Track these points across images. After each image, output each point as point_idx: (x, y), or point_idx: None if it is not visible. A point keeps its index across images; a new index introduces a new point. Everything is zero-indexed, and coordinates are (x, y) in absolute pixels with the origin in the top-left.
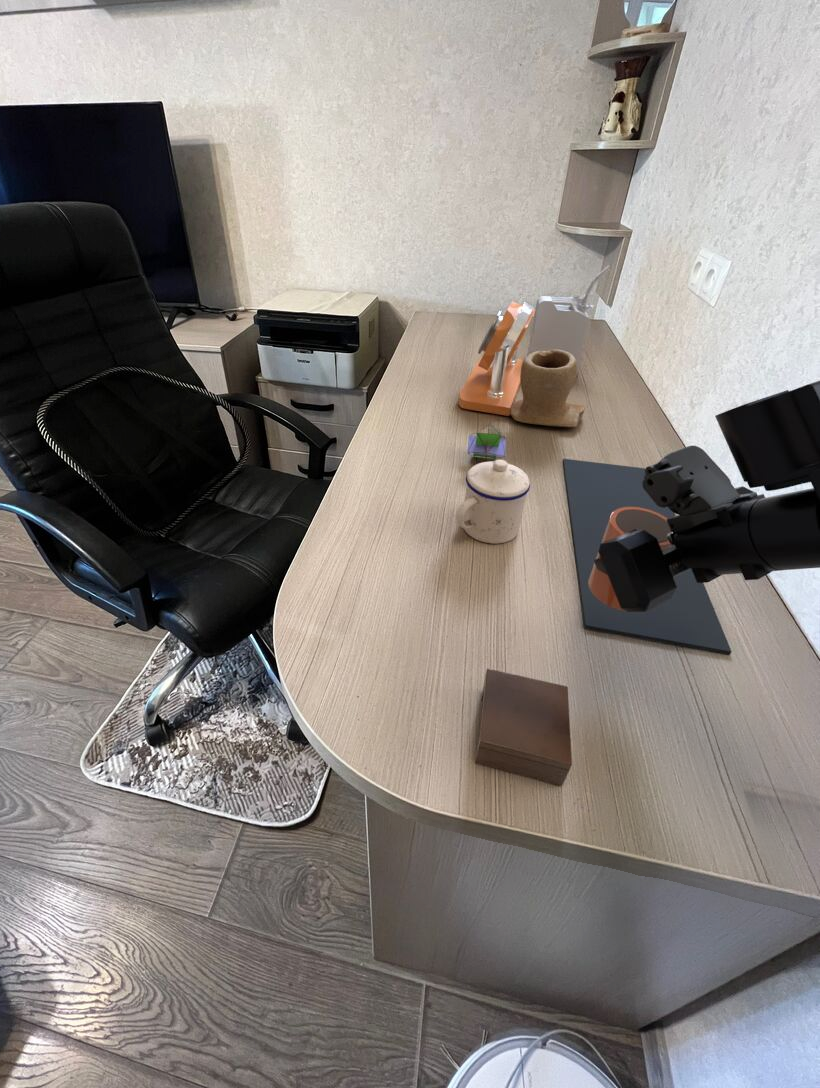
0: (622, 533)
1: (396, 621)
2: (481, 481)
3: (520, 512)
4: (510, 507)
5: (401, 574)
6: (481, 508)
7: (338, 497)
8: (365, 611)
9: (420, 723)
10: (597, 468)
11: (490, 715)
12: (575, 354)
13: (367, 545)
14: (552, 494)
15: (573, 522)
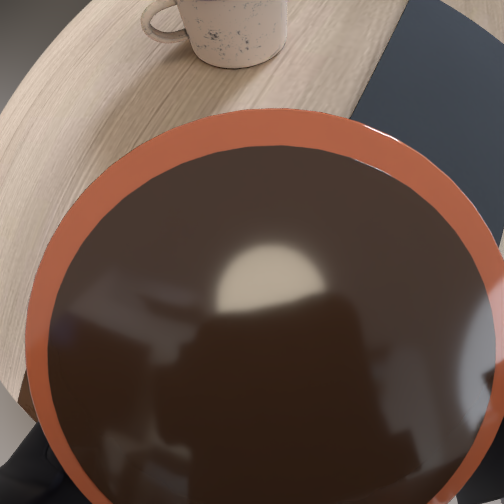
0: (43, 414)
1: (31, 192)
2: None
3: (262, 23)
4: (227, 13)
5: (69, 114)
6: (182, 13)
7: (89, 6)
8: (16, 171)
9: (14, 331)
10: (453, 15)
11: (28, 386)
12: None
13: (66, 69)
14: (376, 16)
15: (381, 63)
